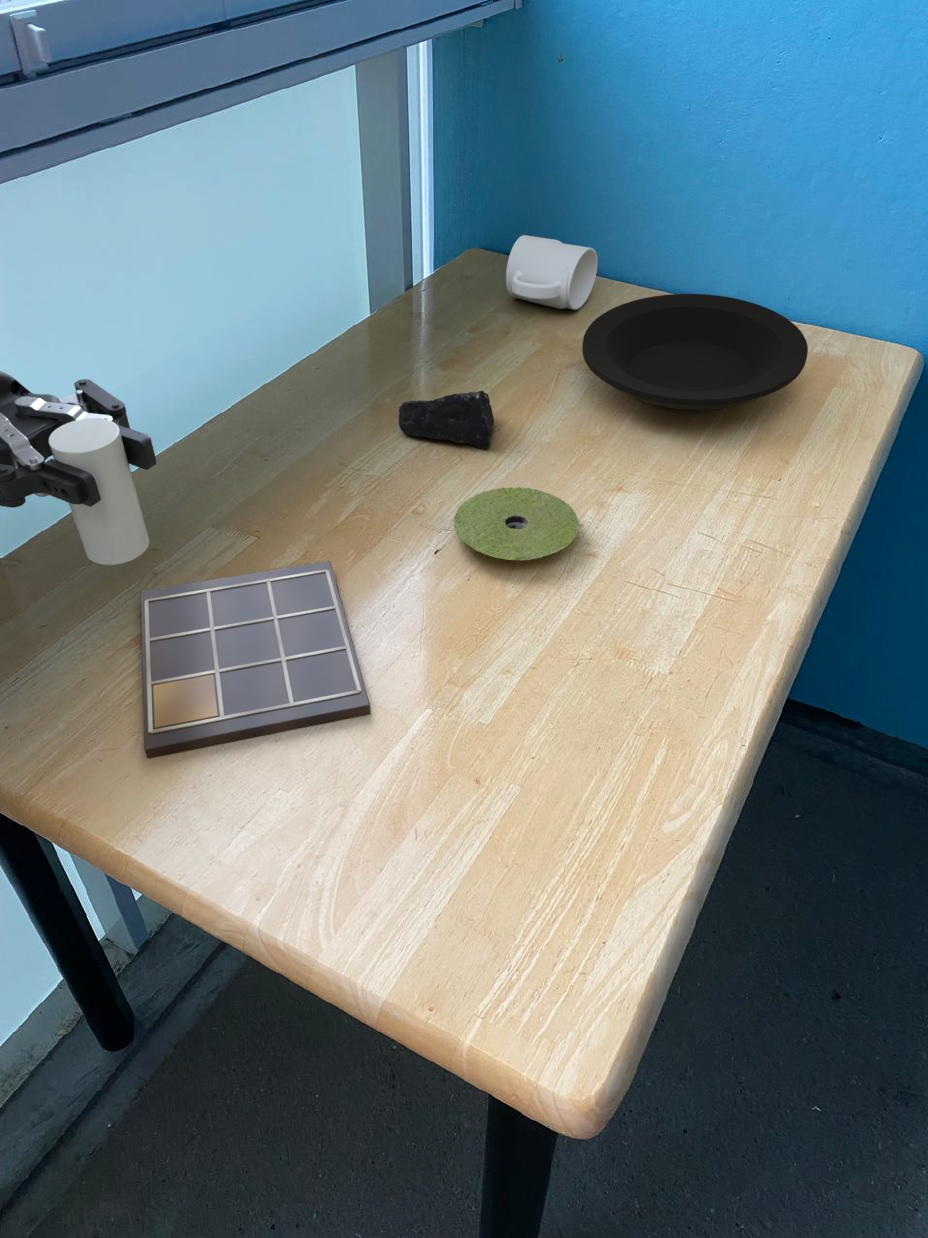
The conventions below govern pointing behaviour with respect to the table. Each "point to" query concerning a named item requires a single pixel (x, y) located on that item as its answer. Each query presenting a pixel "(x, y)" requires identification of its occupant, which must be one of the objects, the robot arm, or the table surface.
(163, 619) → the board
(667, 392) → the plate
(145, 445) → the robot arm
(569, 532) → the green grinding disc
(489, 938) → the table surface
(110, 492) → the tall white cylinder
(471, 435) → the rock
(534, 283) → the mug
